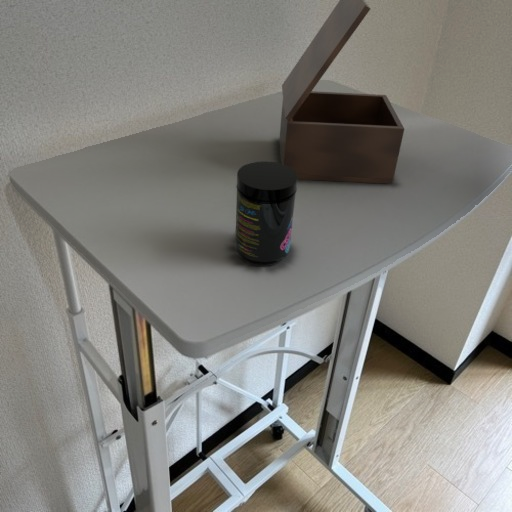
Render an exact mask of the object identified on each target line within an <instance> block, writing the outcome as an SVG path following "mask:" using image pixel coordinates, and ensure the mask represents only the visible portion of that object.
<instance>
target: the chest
mask: <svg viewBox="0 0 512 512" xmlns="http://www.w3.org/2000/svg"><path fill="white" fill-rule="evenodd" d="M281 103H282V105H281V117H280V128H279V141H278V142H279V155H280V164H283V165H286V166H288V167H290V168H292V169H293V170H294V171H295V172H296V173H297V176H298V179H297V180H299V181H300V180H304V181H323V182H342V183H343V182H344V183H345V182H346V183H367V184H386V185H387V184H389V185H392V184H393V183H394V182H393V181H394V179H395V174H396V173H395V172H396V168H397V165H398V160H399V156H400V152H401V148H402V147H401V146H402V141H403V137H404V132H405V127H404V125H403V124H402V121H401V120H400V118H399V116H398V114H397V112H396V110H395V109H394V107H393V105H392V103H391V101H390V99H389V98H388V96H387V95H386V94H373V93H357V92H355V93H353V92H336V91H317V90H316V91H315V90H314V91H313V90H312V91H311V93H310V94H309V95H308V97H307V98H306V100H305V101H304V102H303V104H302V105H301V107H300V108H299V109H298V111H297V112H296V114H295V115H294V116H293V118H292V119H291V121H289V120H287V119H286V118H285V110H284V101H283V100H282V101H281Z"/></svg>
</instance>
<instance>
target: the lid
mask: <svg viewBox="0 0 512 512" xmlns="http://www.w3.org/2000/svg"><path fill="white" fill-rule="evenodd" d="M370 11H371V7H370V6H369V4H368V3H367V1H366V0H339V1H338V2H337V4H336V5H335V6H334V8H333V9H332V11H331V12H330V14H329V15H328V17H327V18H326V20H325V21H324V22H323V24H322V26H321V27H320V29H319V30H318V32H317V33H316V34H315V36H314V37H313V39H312V40H311V42H310V43H309V45H308V46H307V47H306V49H305V51H304V52H303V53H302V55H301V56H300V58H299V59H298V61H297V62H296V63H295V64H294V67H293V68H292V69H291V71H290V72H289V74H288V75H287V77H286V78H285V80H284V81H283V83H282V84H281V91H282V102H283V101H284V110H285V118H286V119H287V120H289V121H291V119H292V118H293V116H294V115H295V114H296V112H297V111H298V109H299V108H300V107H301V105H302V104H303V102H304V101H305V100H306V98H307V97H308V95H309V94H310V93H311V91H313V90H314V89H315V87H316V86H317V85H318V83H319V81H320V80H321V79H322V77H323V76H324V75H325V74H326V72H327V70H328V69H329V68H330V67H331V65H332V63H333V62H334V61H335V60H336V58H337V56H338V55H339V54H340V53H341V52H342V50H343V48H344V47H345V45H346V44H347V43H348V41H349V40H350V38H351V37H352V36H353V34H354V33H355V32H356V30H357V29H358V27H359V26H360V24H361V23H362V21H364V19H365V17H366V16H367V15H368V13H369V12H370Z"/></svg>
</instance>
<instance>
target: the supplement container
mask: <svg viewBox="0 0 512 512" xmlns="http://www.w3.org/2000/svg"><path fill="white" fill-rule="evenodd" d="M236 173H237V174H236V186H235V187H236V201H235V203H236V205H235V231H234V233H235V234H234V249H235V252H236V254H237V255H238V256H239V258H240V259H241V260H243V261H244V262H246V263H249V264H250V265H254V266H261V267H267V266H274V265H277V264H280V263H281V262H282V261H284V260H285V259H286V258H287V256H288V255H289V253H290V250H291V241H292V232H293V222H294V213H295V212H294V211H295V203H296V195H297V188H298V187H297V186H298V180H299V179H298V176H297V173H296V172H295V171H294V170H293V169H292V168H290V167H288V166H286V165H283V164H281V162H276V161H263V160H262V161H253V162H249V163H246V164H244V165H242V166H241V167H240V168H239V169H238V170H237V172H236Z"/></svg>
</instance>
